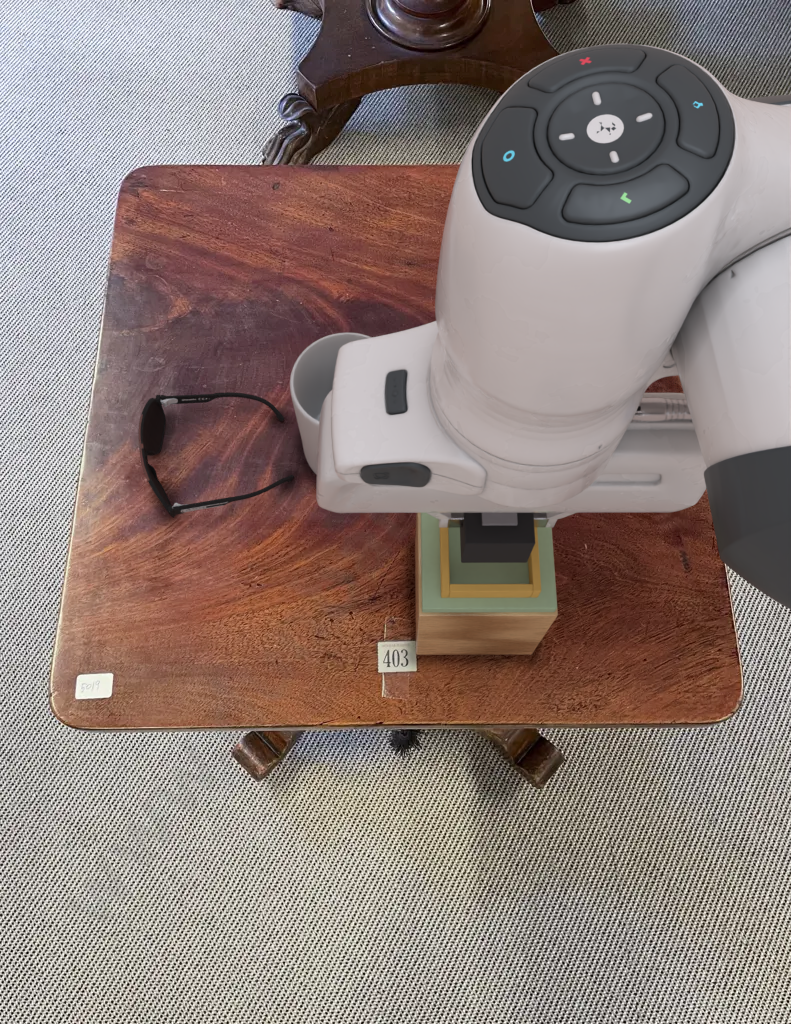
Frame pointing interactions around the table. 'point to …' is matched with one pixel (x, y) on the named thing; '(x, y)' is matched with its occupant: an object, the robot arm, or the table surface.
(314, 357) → the mug
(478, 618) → the stand
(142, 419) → the sunglasses
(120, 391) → the table surface
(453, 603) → the base pad
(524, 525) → the black block
